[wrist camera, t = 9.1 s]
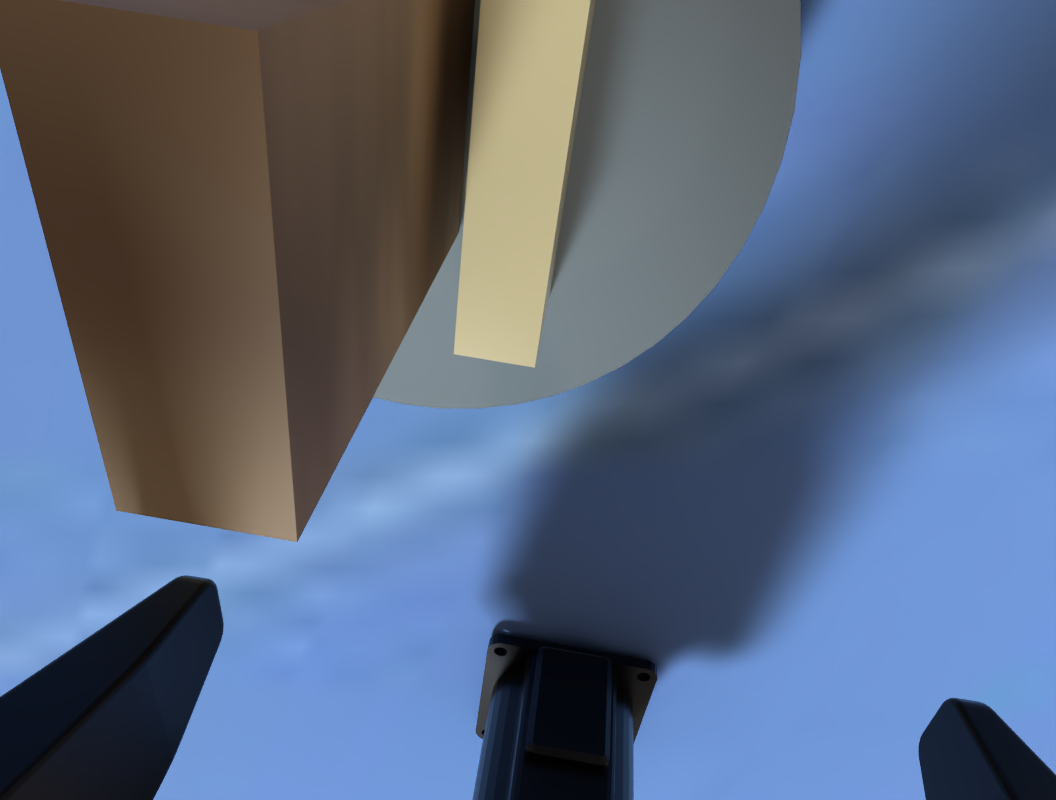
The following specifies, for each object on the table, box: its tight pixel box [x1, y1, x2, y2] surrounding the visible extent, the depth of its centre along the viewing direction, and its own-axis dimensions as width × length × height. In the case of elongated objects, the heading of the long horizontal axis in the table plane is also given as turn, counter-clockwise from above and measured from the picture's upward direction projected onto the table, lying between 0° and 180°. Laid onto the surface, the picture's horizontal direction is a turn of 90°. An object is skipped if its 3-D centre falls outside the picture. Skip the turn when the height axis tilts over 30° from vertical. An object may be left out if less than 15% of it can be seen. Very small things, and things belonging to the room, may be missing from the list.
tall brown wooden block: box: [0, 0, 475, 542], centre depth 10 cm, size 5×2×9 cm, turn 173°
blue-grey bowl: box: [373, 0, 801, 408], centre depth 14 cm, size 14×14×7 cm
